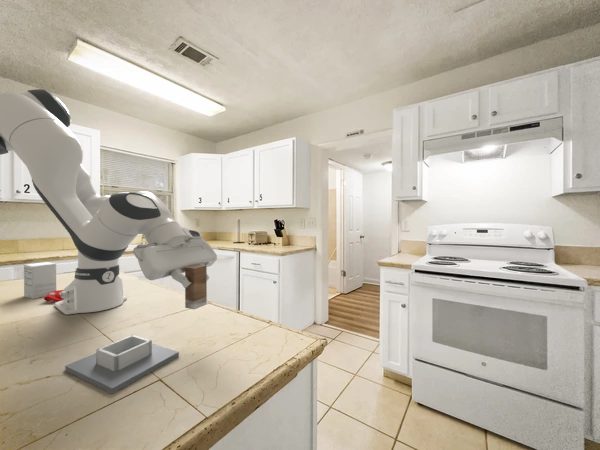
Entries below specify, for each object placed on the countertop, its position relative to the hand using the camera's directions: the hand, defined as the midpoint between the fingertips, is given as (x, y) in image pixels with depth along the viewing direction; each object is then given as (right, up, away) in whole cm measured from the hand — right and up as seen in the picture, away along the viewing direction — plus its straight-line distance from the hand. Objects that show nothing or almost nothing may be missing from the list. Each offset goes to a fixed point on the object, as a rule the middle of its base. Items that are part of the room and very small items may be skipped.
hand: (197, 283), depth 63 cm
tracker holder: (-64, -14, +34) cm, 74 cm away
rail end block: (-1, -6, 0) cm, 6 cm away
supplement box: (-78, -14, +38) cm, 88 cm away
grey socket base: (-12, -16, -8) cm, 22 cm away
